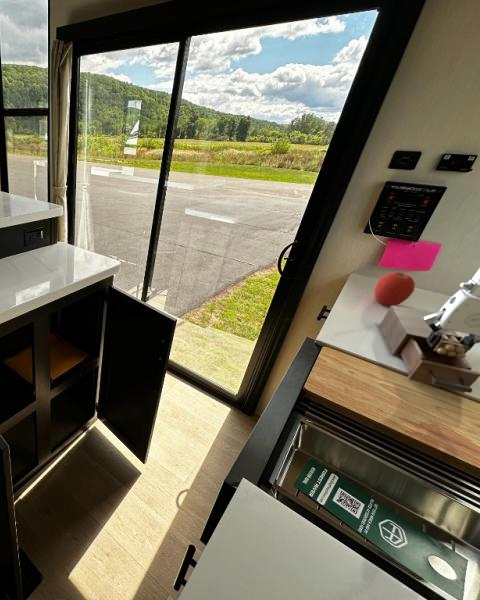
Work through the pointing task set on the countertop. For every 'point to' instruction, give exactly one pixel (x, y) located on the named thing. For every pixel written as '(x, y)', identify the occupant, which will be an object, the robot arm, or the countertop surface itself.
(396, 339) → the cabinet
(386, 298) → the apple
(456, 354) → the bundle
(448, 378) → the drawer
